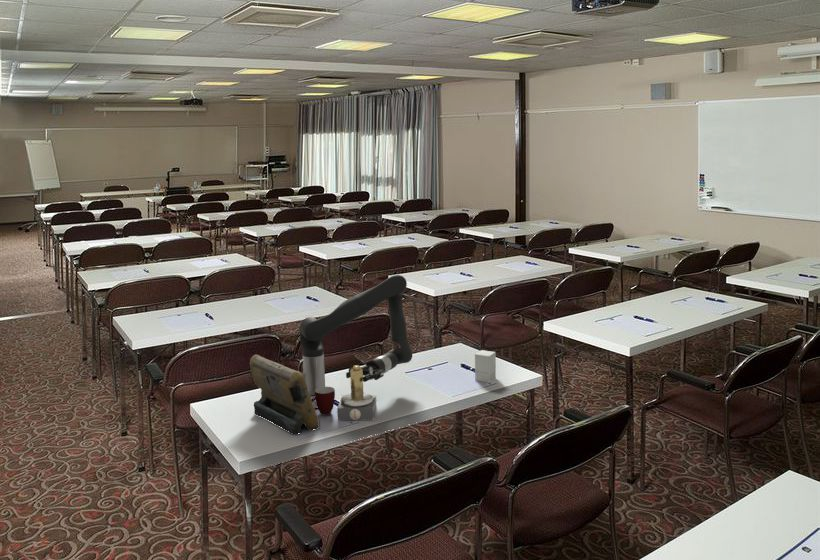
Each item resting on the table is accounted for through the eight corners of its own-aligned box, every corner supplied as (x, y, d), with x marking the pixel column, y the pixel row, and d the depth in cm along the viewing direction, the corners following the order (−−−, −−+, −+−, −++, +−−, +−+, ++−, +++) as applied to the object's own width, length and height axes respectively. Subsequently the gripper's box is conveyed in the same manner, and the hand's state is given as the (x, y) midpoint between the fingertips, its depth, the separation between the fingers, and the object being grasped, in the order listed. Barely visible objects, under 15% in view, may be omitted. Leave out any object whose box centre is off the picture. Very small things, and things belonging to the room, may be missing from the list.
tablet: (326, 426, 262) (323, 364, 257) (298, 438, 252) (294, 374, 247) (273, 405, 283) (270, 348, 278) (246, 416, 273) (241, 357, 268)
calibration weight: (350, 400, 270) (349, 368, 268) (352, 396, 275) (350, 364, 273) (362, 400, 270) (361, 368, 267) (364, 396, 275) (363, 364, 272)
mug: (316, 420, 268) (314, 396, 266) (306, 414, 274) (305, 390, 272) (339, 413, 274) (338, 390, 272) (329, 407, 280) (328, 385, 278)
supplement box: (496, 378, 311) (496, 351, 309) (489, 383, 305) (489, 356, 303) (481, 375, 315) (481, 349, 313) (474, 380, 309) (474, 353, 307)
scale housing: (337, 420, 267) (337, 408, 266) (343, 406, 281) (342, 395, 280) (372, 420, 266) (372, 408, 265) (376, 406, 280) (376, 395, 279)
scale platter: (338, 406, 267) (338, 404, 267) (343, 394, 280) (343, 392, 279) (371, 407, 266) (371, 404, 266) (374, 394, 279) (374, 392, 279)
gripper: (364, 355, 287) (340, 365, 273) (392, 360, 279) (369, 371, 266) (365, 371, 288) (341, 383, 275) (393, 377, 281) (369, 389, 267)
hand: (355, 377), depth 270 cm, fingers open, 8 cm apart
